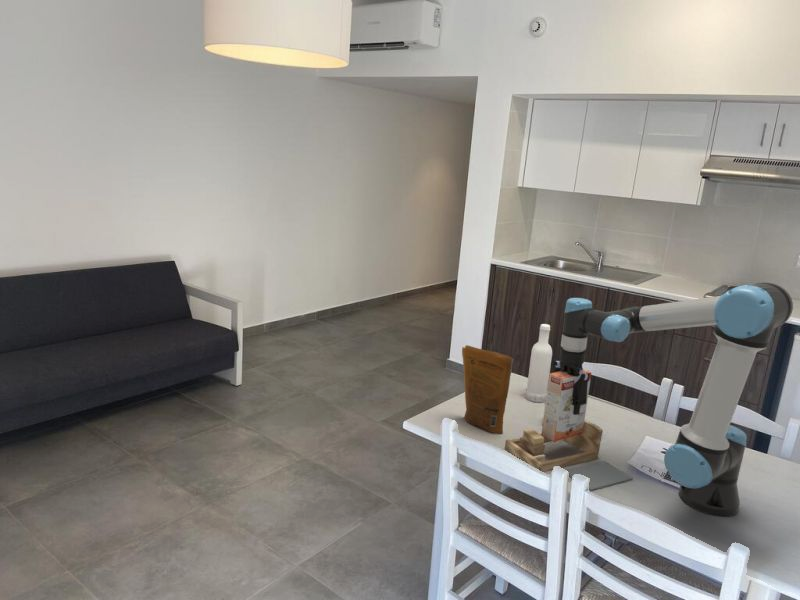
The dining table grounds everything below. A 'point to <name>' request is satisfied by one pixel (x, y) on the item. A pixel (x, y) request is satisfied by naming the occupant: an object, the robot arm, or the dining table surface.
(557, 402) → the cracker box
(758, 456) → the dining table surface
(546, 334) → the bottle
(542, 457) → the birch offcut
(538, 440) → the oak offcut
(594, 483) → the felt mat
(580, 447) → the oak rack
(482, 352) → the pancake mix bag
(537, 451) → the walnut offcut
